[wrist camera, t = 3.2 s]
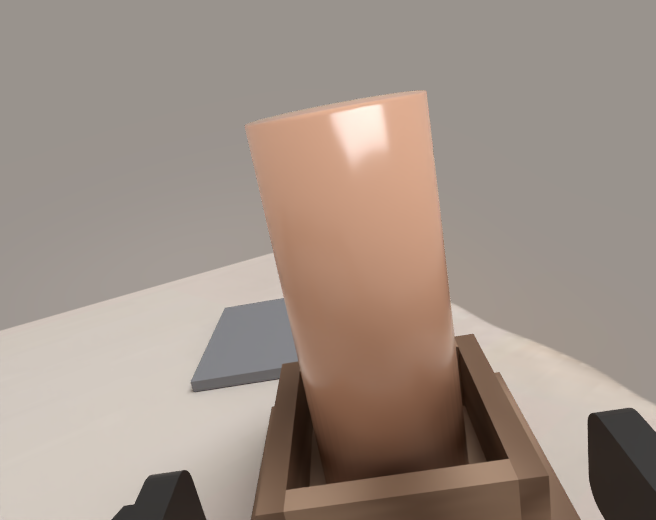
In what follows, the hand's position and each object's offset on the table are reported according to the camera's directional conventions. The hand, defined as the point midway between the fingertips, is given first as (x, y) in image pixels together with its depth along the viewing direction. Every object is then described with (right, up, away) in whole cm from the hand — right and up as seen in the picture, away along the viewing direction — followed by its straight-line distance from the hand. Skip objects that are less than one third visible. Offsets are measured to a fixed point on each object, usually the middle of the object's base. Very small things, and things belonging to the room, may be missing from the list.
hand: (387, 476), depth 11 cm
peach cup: (+2, -5, +14) cm, 15 cm away
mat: (-5, -2, +31) cm, 31 cm away
